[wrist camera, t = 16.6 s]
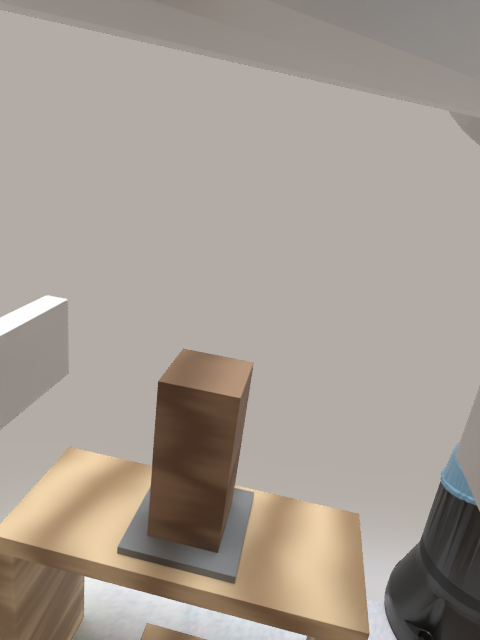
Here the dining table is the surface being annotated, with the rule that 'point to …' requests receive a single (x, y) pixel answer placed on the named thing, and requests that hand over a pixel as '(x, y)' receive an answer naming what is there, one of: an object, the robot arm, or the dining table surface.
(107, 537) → the wooden side table
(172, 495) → the walnut block
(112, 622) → the dining table surface
